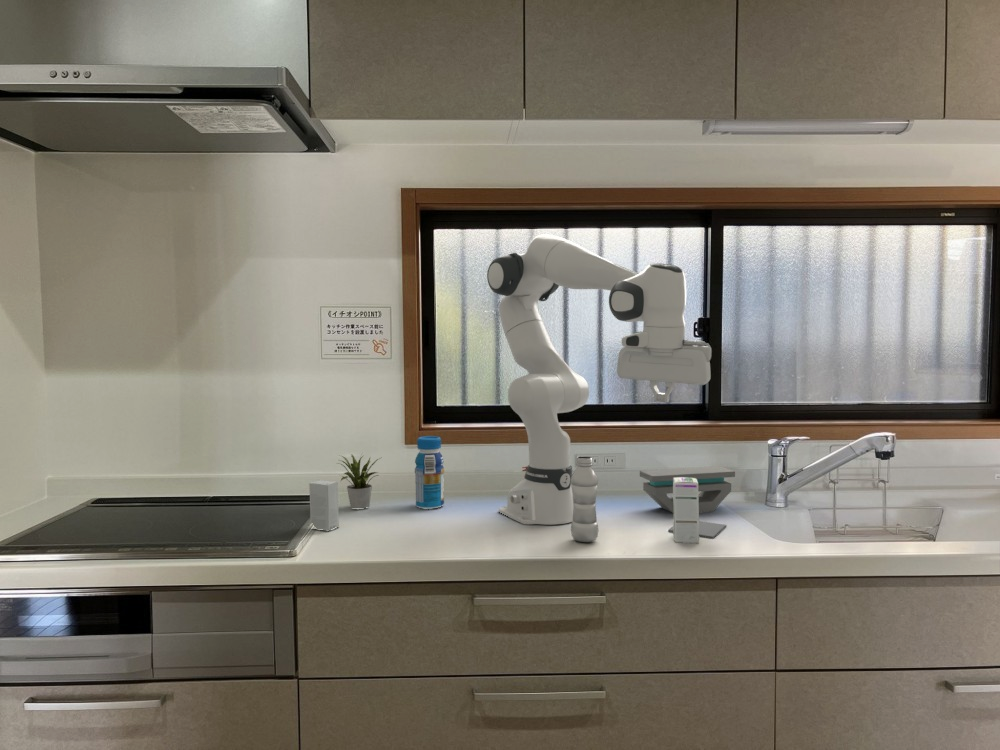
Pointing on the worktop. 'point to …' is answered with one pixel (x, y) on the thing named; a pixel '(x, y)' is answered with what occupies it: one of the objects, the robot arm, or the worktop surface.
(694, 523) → the syrup box
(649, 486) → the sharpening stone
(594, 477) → the plastic bottle
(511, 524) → the worktop surface
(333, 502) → the skincare box
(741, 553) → the worktop surface
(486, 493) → the worktop surface
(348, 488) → the house plant
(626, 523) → the worktop surface
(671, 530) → the mat
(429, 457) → the beverage bottle
